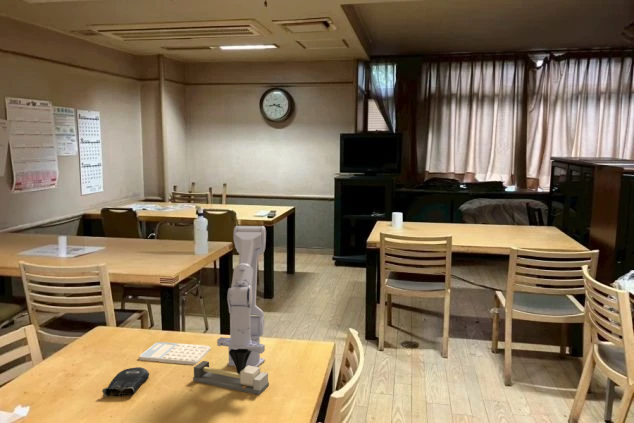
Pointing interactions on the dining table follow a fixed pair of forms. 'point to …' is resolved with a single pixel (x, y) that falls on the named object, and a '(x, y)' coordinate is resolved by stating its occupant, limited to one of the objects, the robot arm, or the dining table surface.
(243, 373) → the beige sliding bead
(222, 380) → the cord board
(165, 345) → the calculator
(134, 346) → the dining table surface
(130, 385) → the electronic device
